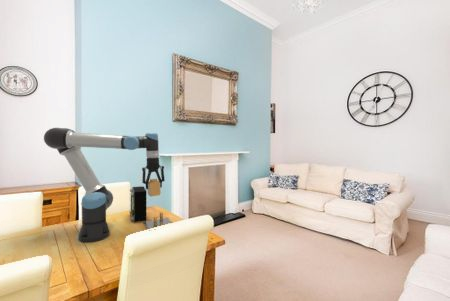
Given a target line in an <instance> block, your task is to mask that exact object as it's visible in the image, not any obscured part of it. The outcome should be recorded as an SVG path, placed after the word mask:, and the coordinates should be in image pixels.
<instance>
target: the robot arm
mask: <svg viewBox="0 0 450 301" xmlns="http://www.w3.org/2000/svg"><path fill="white" fill-rule="evenodd" d="M43 142H44V143H45V145H46V146H47V147H48V148H51V149H55V150H57V152H58V153H59V155H60V156H64V157H65V159H66V160H67V162H68V164H69V166H70V167H71V169H72V170H73V172H74V174H75V176H76V177H77V179H78V180H79V182H80V184H81V185H82V187H83V189H84V190H85V194H84V195H83V197H82V198H81V204H80V205H81V226H80V229H79V233H78V238H77V239H78V241H79V242H83V243H93V242H94V243H95V242H97V241H99V242H100V241H101V240H104V239H106V238H108V237H109V236H110V234H111V233H110V232H111V231H110V228H109V225H108V222H107V209H109V208H110V207H111V206H112V204H113V201H114V195H113V193H112V192H111V191H110V190H108V189H107V188H106V185H104V184H101V182H100V181H99V179H98V177H97V175H96V174H95V172H94V170H93V168H92V167H91V166H90V164H89V162H88V160H87V159H86V157H85V155H84V154H83V151H82V150H81V148H96V149H99V148H100V149H114V150H115V149H119V150H121V149H122V150H128V151H129V150H130V151H134V150H136V149H146V150H145V151H146V154H145V157H146V165H145V166H144V167H142V168H141V170H142V181H141V182H142V184H145V190H147V195H148V194H149V195H150V186H149V184H148V183H149V181H150V179H151V174H152V173H153V172H154V173H155V174H156V178H157V181H159V182H160V194H161V193H162V192H161V188H162V187H163V185H162V184H163V182H165V172H164V171H165V170H164V168H165V166H164V165H160V157H159V156H160V155H159V154H160V152H159V135H158V133H156V132H146V133H145V135H143V136H139V135H138V136H134V135H118V134H102V133H89V132H88V133H86V132H76V131H74V129H73V130H72V129H71V128H66V127H64V128H63V127H62V128H61V127H52V128H49V129H48V130H47V131H45V133H44V135H43ZM159 169H160V172H159ZM147 170H148V172H147V175H146V171H147ZM149 195H148V196H149Z"/></svg>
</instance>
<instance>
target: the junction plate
mask: <svg viewBox="0 0 450 301" xmlns="http://www.w3.org/2000/svg"><path fill="white" fill-rule="evenodd" d="M142 223H143V225H144V226H145V227H146V229H147V230H148V229H150V228H154V227H157V226H161V225H165V224H168V223H174V222H173V221H171V220H170V218H168V217H165V218H164V217H163V221H160V218H159V219H158V218H157V226H154V219H152V220H146V221H142Z"/></svg>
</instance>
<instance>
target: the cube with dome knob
mask: <svg viewBox="0 0 450 301" xmlns="http://www.w3.org/2000/svg"><path fill="white" fill-rule="evenodd" d="M148 184H149V186H150V195H149V194H148V193H147V196H149V197H155V196H156V197H157V196H160V195H161V193H160V190H161V188H160V182H159V180H158V178H150V179H149V183H148Z"/></svg>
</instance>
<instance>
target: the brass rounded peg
mask: <svg viewBox="0 0 450 301" xmlns="http://www.w3.org/2000/svg"><path fill="white" fill-rule="evenodd" d="M163 218H164V213H163V212H159V219H160V221H163Z"/></svg>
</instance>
